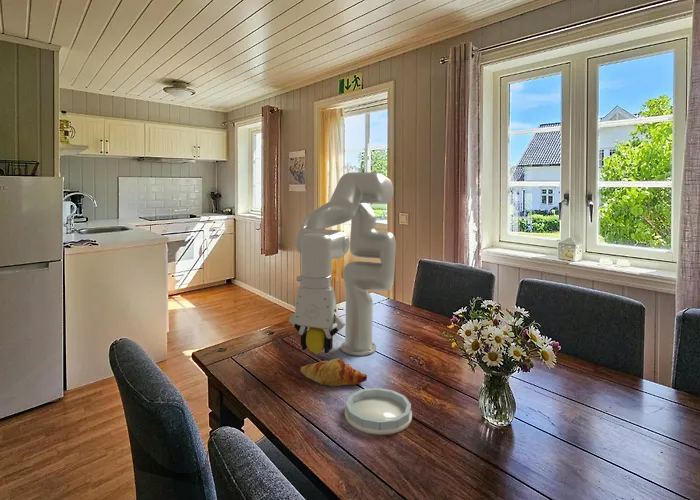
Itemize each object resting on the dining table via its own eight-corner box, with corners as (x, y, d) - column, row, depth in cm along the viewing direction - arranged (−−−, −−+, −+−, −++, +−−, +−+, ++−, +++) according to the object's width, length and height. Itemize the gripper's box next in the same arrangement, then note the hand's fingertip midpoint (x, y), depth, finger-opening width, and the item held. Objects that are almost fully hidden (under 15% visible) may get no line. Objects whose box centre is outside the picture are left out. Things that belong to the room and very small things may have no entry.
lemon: (323, 359, 103) (323, 329, 102) (302, 357, 104) (302, 327, 103) (329, 350, 108) (329, 322, 107) (309, 348, 110) (309, 320, 108)
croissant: (296, 389, 123) (291, 372, 119) (308, 362, 131) (302, 346, 126) (364, 399, 117) (361, 382, 113) (372, 370, 125) (369, 353, 120)
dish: (355, 393, 114) (355, 383, 114) (416, 403, 109) (416, 392, 109) (335, 427, 98) (335, 415, 97) (406, 440, 93) (406, 428, 93)
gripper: (278, 282, 102) (280, 351, 105) (344, 288, 97) (343, 360, 100) (291, 276, 109) (292, 340, 112) (353, 281, 104) (352, 348, 107)
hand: (316, 349), depth 106 cm, fingers closed on lemon, 5 cm apart
